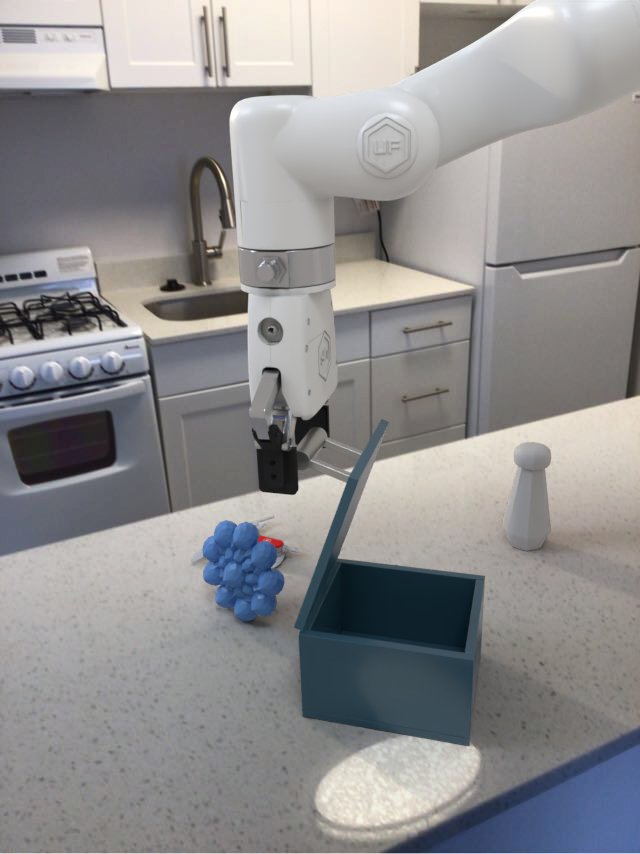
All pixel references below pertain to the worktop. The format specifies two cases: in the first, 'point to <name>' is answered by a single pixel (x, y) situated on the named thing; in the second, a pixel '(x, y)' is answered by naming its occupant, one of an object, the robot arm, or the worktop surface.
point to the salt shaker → (529, 498)
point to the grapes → (242, 570)
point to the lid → (347, 503)
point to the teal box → (394, 650)
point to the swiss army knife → (278, 543)
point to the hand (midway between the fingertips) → (296, 467)
